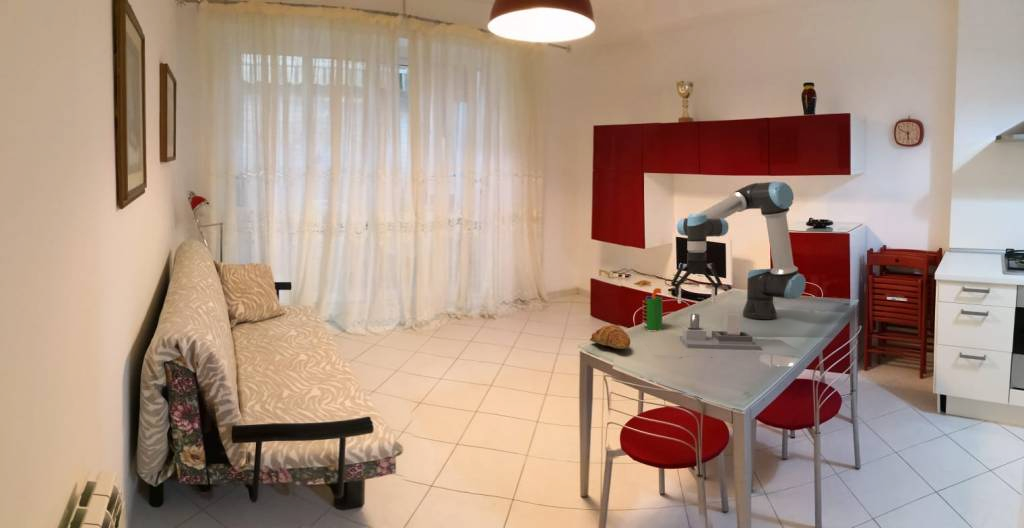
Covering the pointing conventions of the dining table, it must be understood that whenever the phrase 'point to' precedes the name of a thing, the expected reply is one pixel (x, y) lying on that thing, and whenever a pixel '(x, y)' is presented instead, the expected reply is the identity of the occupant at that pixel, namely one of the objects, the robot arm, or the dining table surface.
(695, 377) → the dining table surface
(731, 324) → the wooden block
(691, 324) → the rounded metal cylinder
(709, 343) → the stand
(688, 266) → the robot arm
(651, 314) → the motor
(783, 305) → the dining table surface
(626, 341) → the pastry
